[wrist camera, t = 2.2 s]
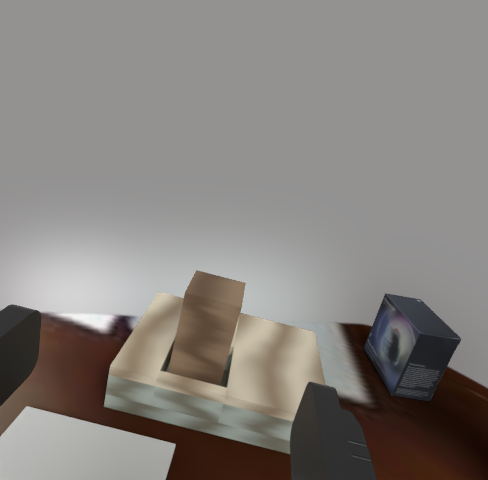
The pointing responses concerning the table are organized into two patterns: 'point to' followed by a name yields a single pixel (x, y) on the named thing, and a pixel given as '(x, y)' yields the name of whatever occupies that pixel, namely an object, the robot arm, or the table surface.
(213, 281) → the brown wooden block
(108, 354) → the table surface
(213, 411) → the slotted wooden base
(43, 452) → the grey pad
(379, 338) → the small box
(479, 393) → the table surface
